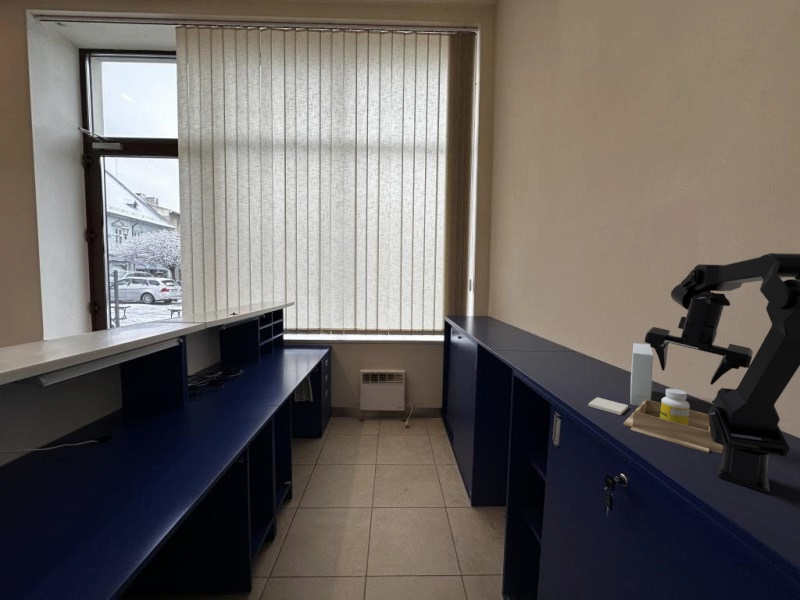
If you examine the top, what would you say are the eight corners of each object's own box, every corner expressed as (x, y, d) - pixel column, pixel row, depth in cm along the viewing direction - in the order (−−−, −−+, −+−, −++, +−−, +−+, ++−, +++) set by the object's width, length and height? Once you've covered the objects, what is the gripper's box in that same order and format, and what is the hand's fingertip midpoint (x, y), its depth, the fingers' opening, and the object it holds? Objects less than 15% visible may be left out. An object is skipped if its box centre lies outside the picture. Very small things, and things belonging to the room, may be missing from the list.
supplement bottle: (657, 423, 85) (660, 386, 85) (684, 428, 83) (688, 390, 82) (661, 430, 81) (664, 391, 80) (689, 437, 78) (694, 396, 77)
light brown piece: (721, 457, 69) (723, 438, 69) (620, 426, 82) (622, 411, 82) (724, 432, 81) (726, 416, 81) (636, 409, 94) (638, 395, 94)
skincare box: (629, 387, 116) (633, 342, 115) (648, 390, 112) (653, 344, 111) (628, 404, 98) (632, 351, 97) (650, 409, 95) (656, 354, 94)
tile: (620, 415, 90) (620, 412, 89) (588, 405, 95) (588, 403, 95) (627, 407, 95) (628, 405, 95) (596, 399, 101) (597, 397, 101)
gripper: (762, 318, 75) (742, 378, 80) (660, 300, 88) (648, 353, 93) (760, 333, 68) (738, 397, 73) (650, 312, 81) (638, 367, 86)
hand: (686, 376), depth 81 cm, fingers open, 9 cm apart
